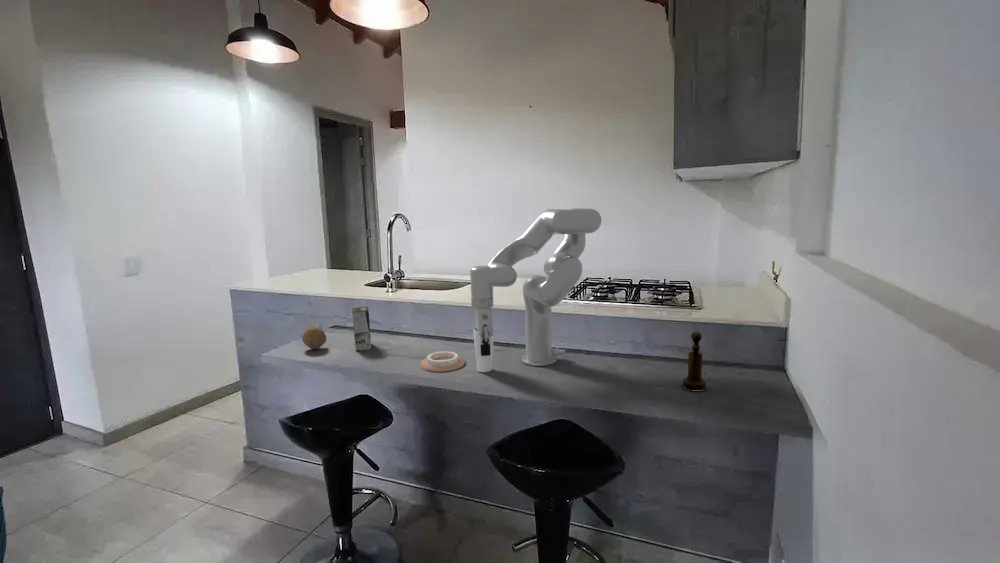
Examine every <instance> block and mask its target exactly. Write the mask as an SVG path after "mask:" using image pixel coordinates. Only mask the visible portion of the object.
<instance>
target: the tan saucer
mask: <svg viewBox="0 0 1000 563" xmlns="http://www.w3.org/2000/svg"><path fill="white" fill-rule="evenodd" d="M465 362H466V360H465V358H464V357H462V356H461V355H460V356H459V355H458V353H456V352H453V351H435V352H432V353H430V354H428V355H427V357H426V358H424V359H422V360H421V361H420V368H421V369H422V370H424V371H427V372H432V373H447V372H451V371H455V370H458V369H461V368H462V367H463V366H465V364H466V363H465Z"/></svg>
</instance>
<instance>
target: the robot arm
mask: <svg viewBox="0 0 1000 563" xmlns="http://www.w3.org/2000/svg"><path fill="white" fill-rule="evenodd" d="M602 220H603V219H602V217H601V214H600V213H599V211H597V210H596V209H593V208H582V207H580V208H576V207H575V208H571V209H561V208H560V209H559V208H556V209H555V208H549V209H546V210H544V211H541V213H540V214H539V215H538V216H537V218H535V220H534V221H533V222H532V223H531V224H530V225H529V226H528V228H527V229H526V230H525V231H524V232H523V233H522V234H521V235H520V236H519V237H517V238H516V239H514V241H512V242H511V243H509V244H508V245H506V246H505V247H503V248H502V249H501V250H500V251H499V252H497V254H496V255H495V256H494V257H493V258H492V259H491V261H490V262H489V263H488V264H487V265H477V266H473V267H471V269H470V274H469V275H470V299H471V301H470V302H471V308H473V309H474V320H475V322H474V323H475V328H476V330H477V331H478V335H479V336H480V337H481V356H489V355H490V340H489V335H491V336H493V337H494V328H493V315H492V314H493V313H492V308H494V287H496V288H497V287H498V288H499V287H500V288H508V287H511V286H513V285H514V284H515V283H516V281H517V278H518V273H517V271H516V270H515V268H513V266H514V265H516V264H517V263H519V262H520V261H523V260H524V259H527V258H530V257H533V256H535V255H537V254H538V253H539V252H540V251H541V250H542V249H543V248H544V247H545V246H546V244H547V243H548V242H549V241H550V240H551V239H553V237H554V236H555V234H557V235H564V236H563V238H562V240H561V242H560V243H559V244H558V246H557V247H556V249H554V251H553V252H552V253H551V254H550V256H549V257H548V258H547V259H546V260H545V262H544V265H543V271H544V273H545V275H546V276H548V277H546V276H542V275H540V274H537V275H536V274H535V275H531V276H529V277H527V278H526V279H525V281H524V282H523V286H522V295H523V301H524V307H525V308H524V311H525V313H524V314H525V354H524V355H523V356H522V357H521V361H522V362H523V363H524V364H526V365H528V366H534V367H545V366H550V365H553V364H555V363H556V362H557V356H565V354H566V350H565V349H560V348H553V329H552V327H553V323H552V322H553V321H552V320H553V313H552V312H553V311H552V308H553V307H555V306H557V305H558V304H560V303H561V302H562V301H563V300H564V299H565V298H566V297H567V295H568V294H569V292H570V291H572V289H573V287H574V286H575V285H576V284H577V283H578V281H579V280H580V278H581V277H582V273H583V264H582V262H581V259H579V258H580V256H581V255H582V254H583V252H584V251H585V247H586V240H587V239H586V234H592V233H594V232H597V231H598V230H599V229H600V227H601V226H602ZM482 333H484V335H482ZM483 338H484V339H483Z"/></svg>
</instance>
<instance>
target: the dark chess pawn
mask: <svg viewBox="0 0 1000 563" xmlns="http://www.w3.org/2000/svg"><path fill="white" fill-rule="evenodd" d="M702 337H703V335H702V333H701V332H699V331H696V330H695V331H692V333H691V335H690V338H691V340H692V343H693V345H691V350H692V351H689V352H688V358H687V359H688V360H687V361H688V362H687V364H688V365H687V376H685V378H683V379H682V388H683V387H685V388H686V389H690V390H703V389H705V390H706V387H707V386H706V381H705V380H704V379H703V378H702V372H703V370H702V368H703V353H702V352H699V351H700V349H701V346H700V344H699V342H700V341H701V340H702ZM686 389H685V390H686Z"/></svg>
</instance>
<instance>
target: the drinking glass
mask: <svg viewBox="0 0 1000 563" xmlns="http://www.w3.org/2000/svg"><path fill="white" fill-rule="evenodd" d="M482 335H484V333H482ZM483 339H484V338H483ZM489 340H490V355H489V356H481V337H480V336H479V335H478V331H477V330H476V327H474V328H473V344H474V352H475V360H476V361H475V362H476V370H477V371H478V372H480V373H489V372H491V371H492V370H493V354H494V353H493V350H494V335H493V336H491V335H489Z"/></svg>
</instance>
